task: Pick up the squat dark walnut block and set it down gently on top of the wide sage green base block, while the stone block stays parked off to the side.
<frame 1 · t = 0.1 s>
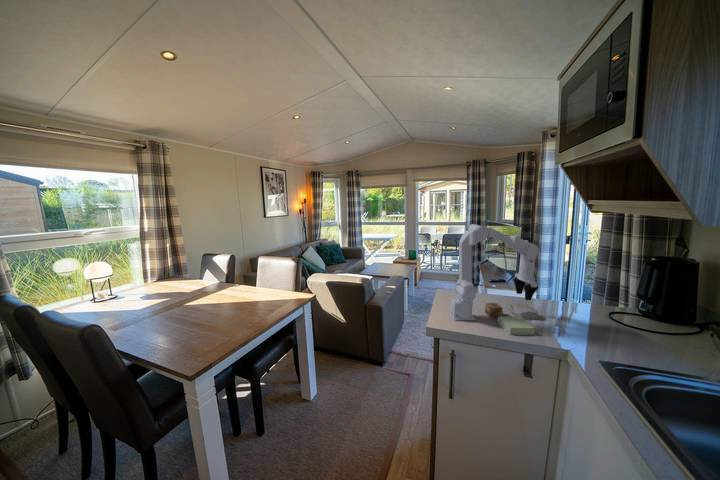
hand: (523, 296, 122), 10 cm above the worktop, tool pointing down, fingers open, 7 cm apart
base block: (514, 328, 113), on the worktop
stone block: (521, 314, 126), on the worktop
walnut block: (493, 315, 125), on the worktop
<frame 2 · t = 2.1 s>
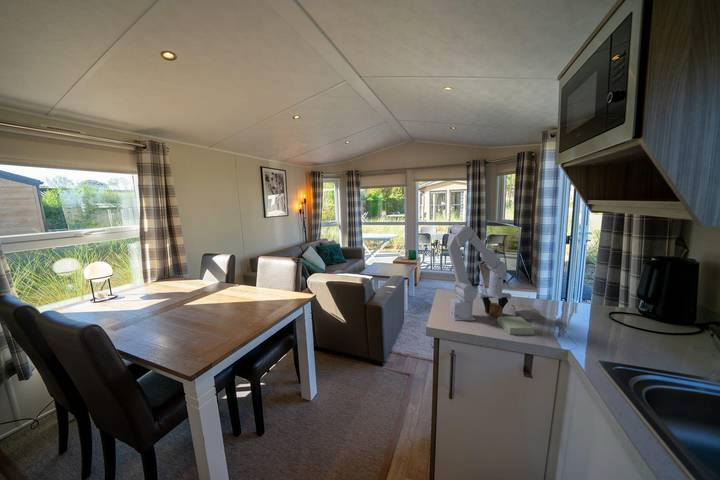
hand: (493, 312, 125), 1 cm above the worktop, tool pointing down, fingers closed on walnut block, 5 cm apart
walnut block: (493, 314, 125), on the worktop, touching gripper
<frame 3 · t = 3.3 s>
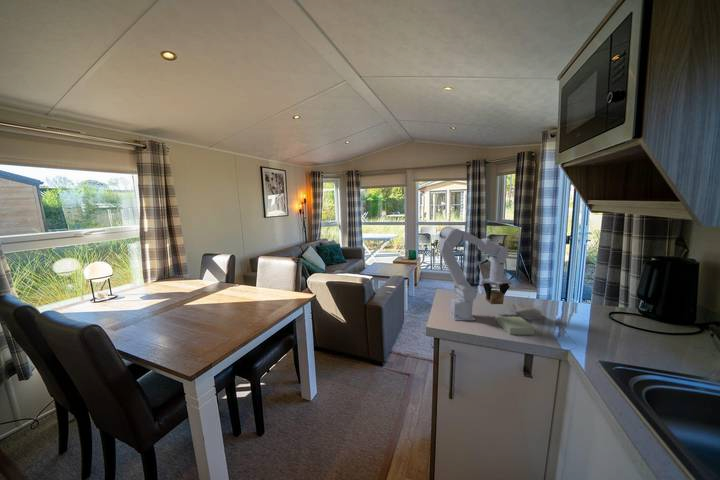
hand: (494, 298, 124), 8 cm above the worktop, tool pointing down, fingers closed on walnut block, 5 cm apart
walnut block: (494, 301, 124), point 7 cm above the worktop, touching gripper
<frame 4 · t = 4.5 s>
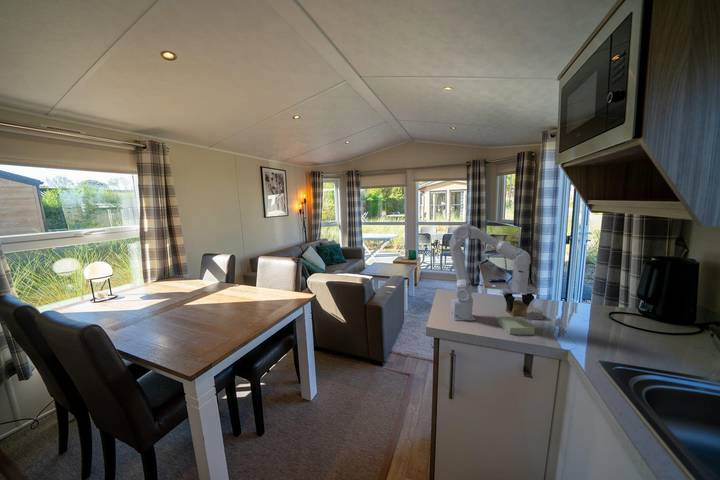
hand: (516, 310, 111), 8 cm above the worktop, tool pointing down, fingers closed on walnut block, 5 cm apart
walnut block: (515, 313, 112), point 7 cm above the worktop, touching gripper
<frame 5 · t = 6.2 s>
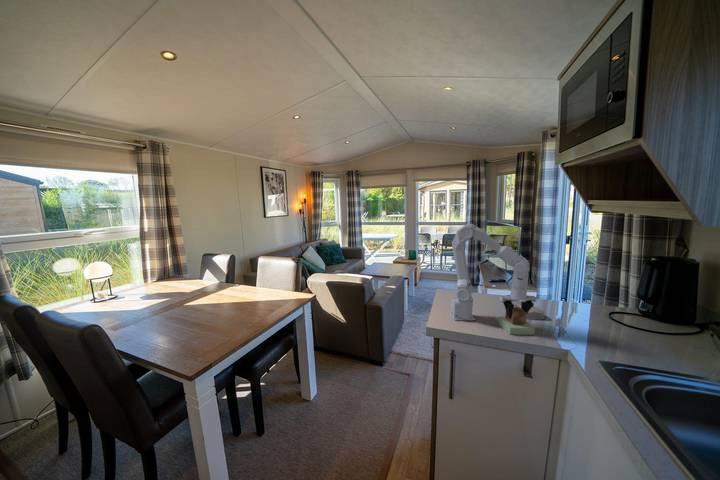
hand: (516, 317, 112), 5 cm above the worktop, tool pointing down, fingers closed on walnut block, 5 cm apart
walnut block: (515, 320, 112), point 4 cm above the worktop, touching gripper
when the fingers open (5 cm above the worktop, at t = 7.3 s): walnut block stays where it is, resting on base block.
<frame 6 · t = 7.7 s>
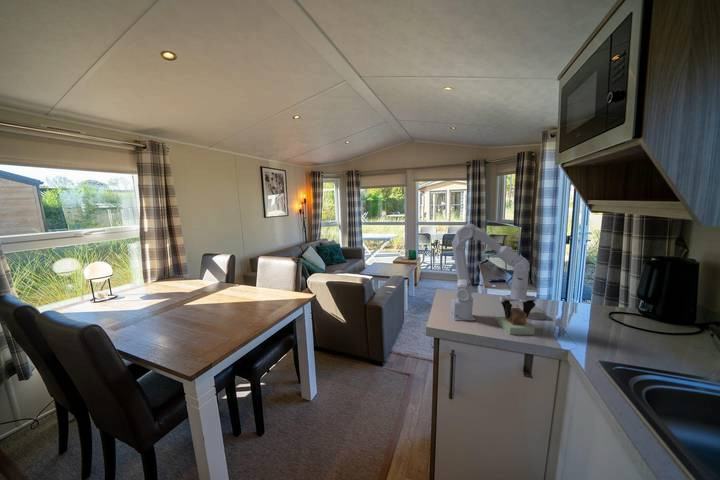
hand: (516, 317, 112), 5 cm above the worktop, tool pointing down, fingers open, 7 cm apart
walnut block: (515, 321, 112), point 3 cm above the worktop, touching base block
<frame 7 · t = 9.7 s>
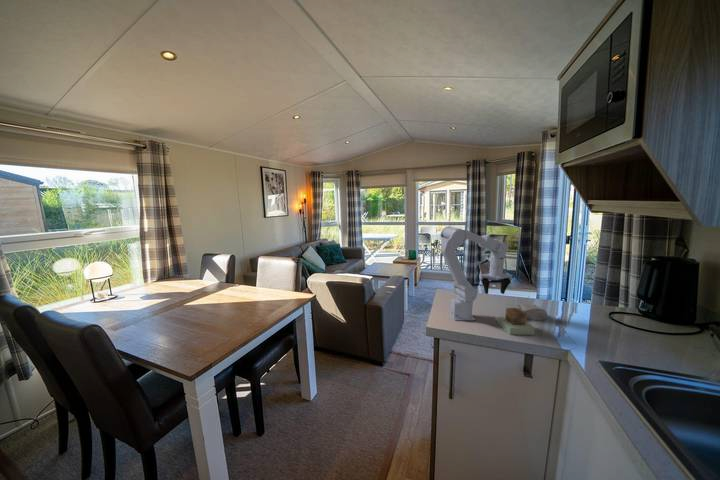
hand: (494, 293, 126), 10 cm above the worktop, tool pointing down, fingers open, 7 cm apart
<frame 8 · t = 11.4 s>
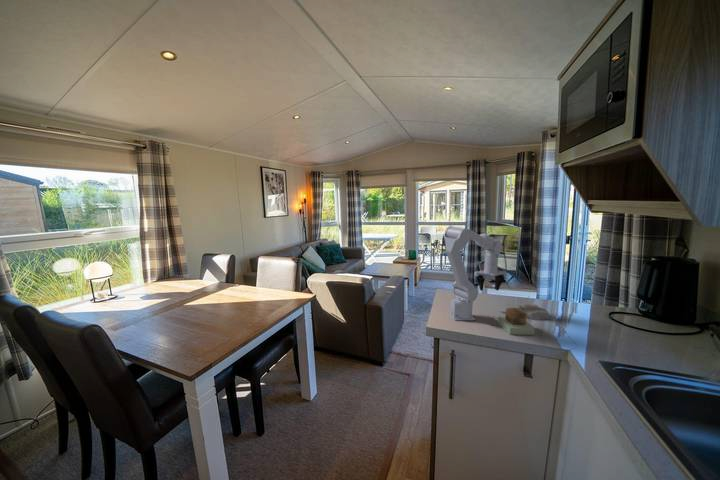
hand: (488, 289, 129), 10 cm above the worktop, tool pointing down, fingers open, 7 cm apart
at the end: walnut block 0.4 cm off-centre on the base block, point 3.0 cm above the base block's base; walnut block tilted 0°; the gripper is holding nothing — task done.
